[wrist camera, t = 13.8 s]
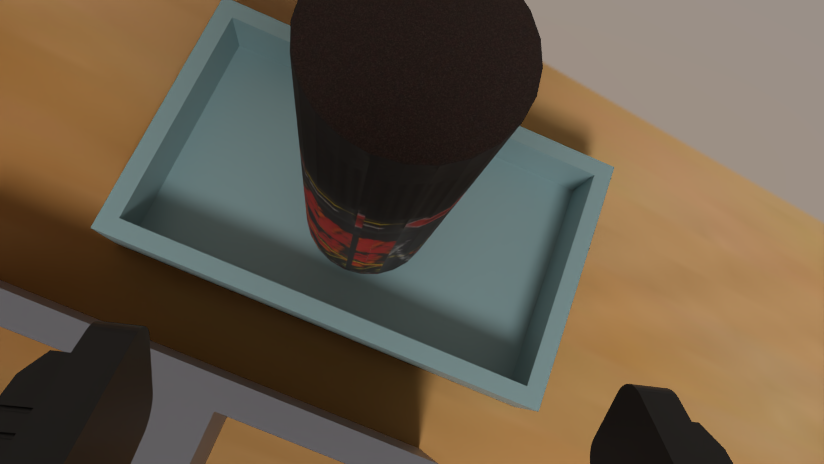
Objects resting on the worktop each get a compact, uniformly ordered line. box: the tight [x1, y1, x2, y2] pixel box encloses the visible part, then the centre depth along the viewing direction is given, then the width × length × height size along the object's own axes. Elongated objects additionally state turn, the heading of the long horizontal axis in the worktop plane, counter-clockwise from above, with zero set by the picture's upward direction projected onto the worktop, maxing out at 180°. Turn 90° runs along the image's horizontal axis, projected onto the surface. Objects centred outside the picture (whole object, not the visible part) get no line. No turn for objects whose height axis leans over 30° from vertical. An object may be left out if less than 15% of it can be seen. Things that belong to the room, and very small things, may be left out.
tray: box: [91, 0, 614, 411], centre depth 27 cm, size 20×12×3 cm, turn 69°
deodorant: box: [290, 0, 543, 274], centre depth 21 cm, size 6×6×15 cm
